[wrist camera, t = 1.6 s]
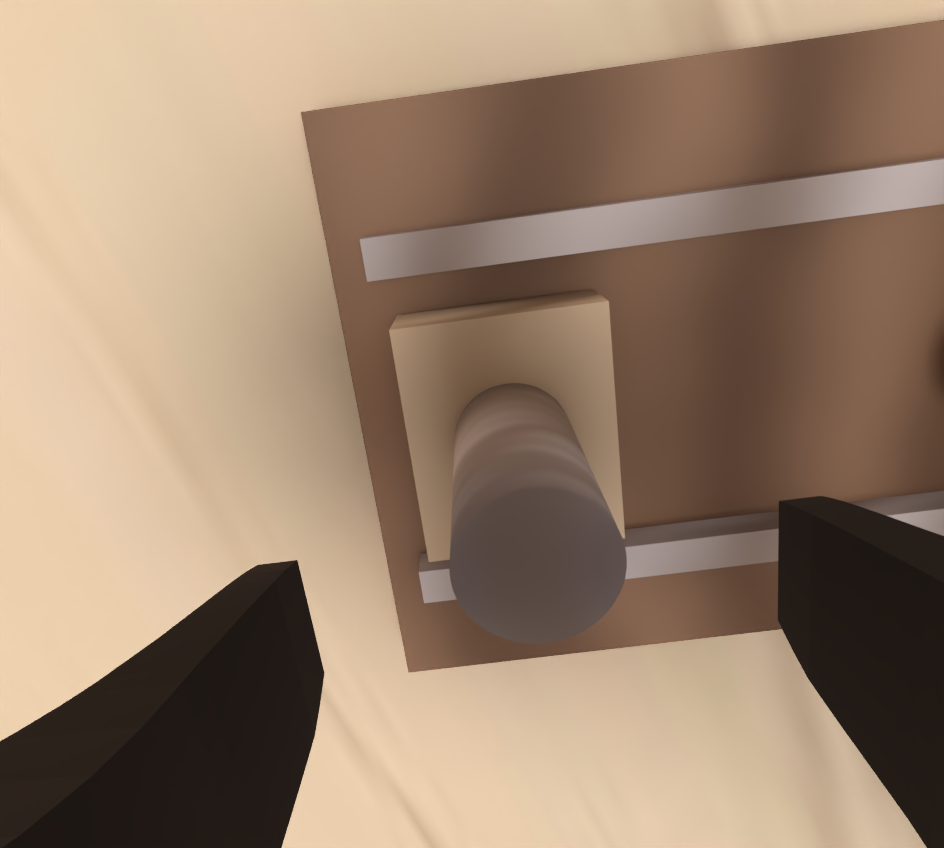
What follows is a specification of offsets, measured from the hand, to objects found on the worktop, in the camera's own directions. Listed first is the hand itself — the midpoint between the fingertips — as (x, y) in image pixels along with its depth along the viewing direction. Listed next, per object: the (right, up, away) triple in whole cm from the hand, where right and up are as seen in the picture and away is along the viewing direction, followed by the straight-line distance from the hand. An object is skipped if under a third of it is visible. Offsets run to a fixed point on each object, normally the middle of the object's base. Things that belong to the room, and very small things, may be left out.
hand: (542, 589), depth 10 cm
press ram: (0, +3, +8) cm, 9 cm away
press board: (+7, +4, +10) cm, 13 cm away
